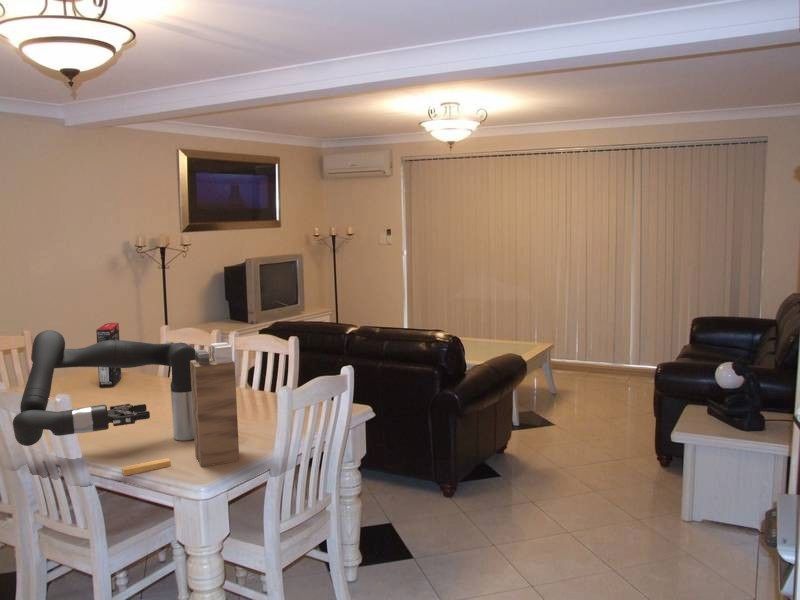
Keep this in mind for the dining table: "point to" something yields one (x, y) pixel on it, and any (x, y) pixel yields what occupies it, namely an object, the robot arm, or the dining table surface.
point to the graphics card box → (106, 374)
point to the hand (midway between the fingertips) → (148, 411)
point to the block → (146, 466)
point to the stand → (214, 405)
